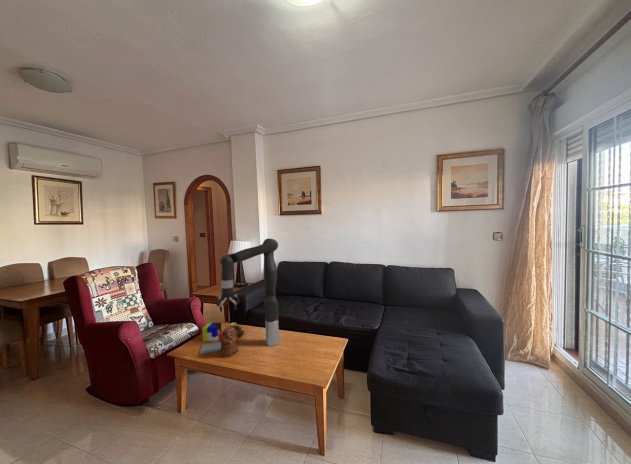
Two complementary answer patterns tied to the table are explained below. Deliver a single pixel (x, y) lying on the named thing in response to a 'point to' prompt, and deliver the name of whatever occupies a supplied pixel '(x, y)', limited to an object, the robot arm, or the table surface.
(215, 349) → the gray square panel
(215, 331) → the puzzle toy
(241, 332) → the green-brown rounded mound
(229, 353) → the wooden figurine
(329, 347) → the table surface
